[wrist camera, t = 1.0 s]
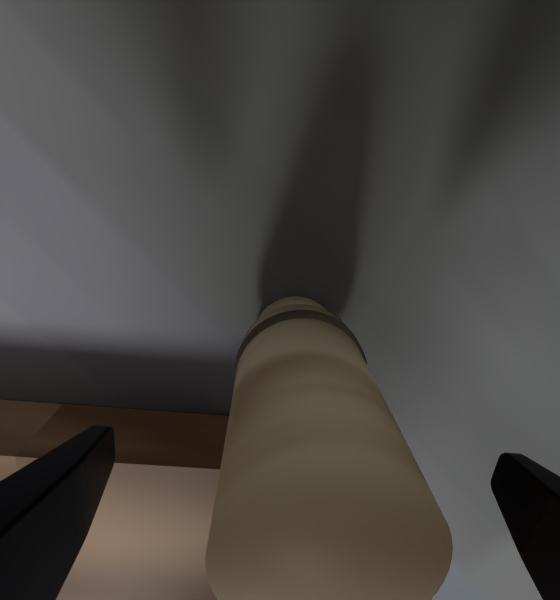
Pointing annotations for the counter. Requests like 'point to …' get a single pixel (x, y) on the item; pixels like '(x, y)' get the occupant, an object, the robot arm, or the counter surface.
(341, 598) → the birch peg
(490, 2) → the counter surface
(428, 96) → the counter surface
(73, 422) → the walnut board
